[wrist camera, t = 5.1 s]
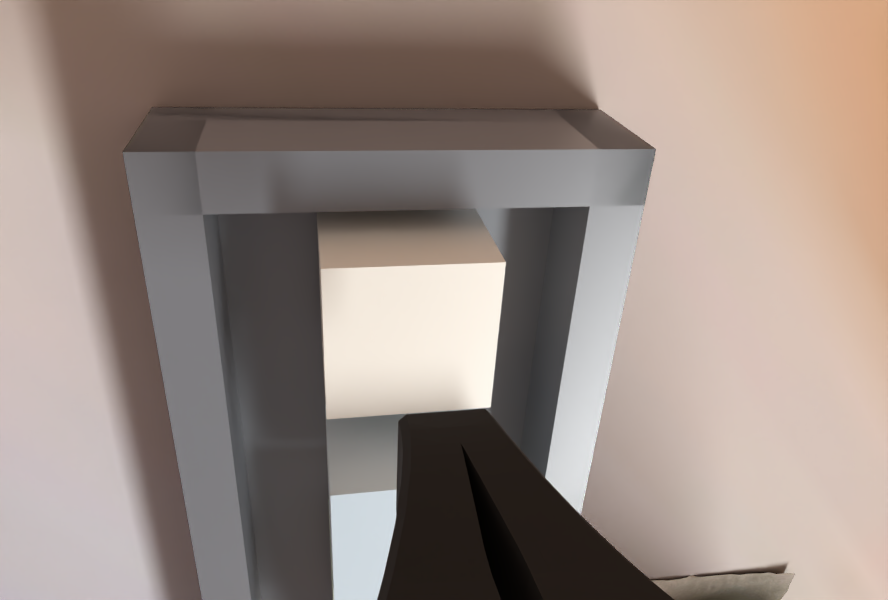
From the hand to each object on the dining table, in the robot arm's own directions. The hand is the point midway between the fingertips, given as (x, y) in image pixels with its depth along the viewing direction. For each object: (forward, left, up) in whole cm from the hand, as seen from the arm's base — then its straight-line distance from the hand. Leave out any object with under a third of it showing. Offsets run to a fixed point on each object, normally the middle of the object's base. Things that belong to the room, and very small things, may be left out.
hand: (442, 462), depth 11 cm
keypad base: (0, -6, -8) cm, 10 cm away
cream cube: (0, 0, -6) cm, 6 cm away
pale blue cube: (0, -4, -5) cm, 6 cm away
